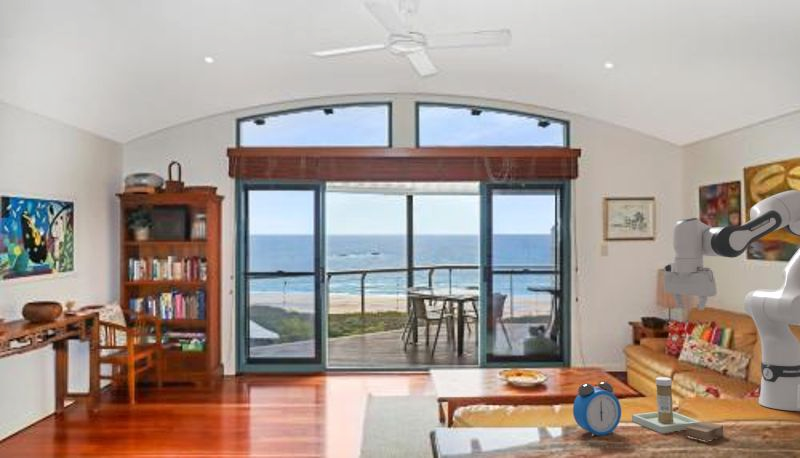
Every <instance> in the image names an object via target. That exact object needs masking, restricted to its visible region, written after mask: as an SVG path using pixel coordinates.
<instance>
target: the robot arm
mask: <svg viewBox="0 0 800 458" xmlns="http://www.w3.org/2000/svg"><path fill="white" fill-rule="evenodd" d="M749 218H750V220H749V221H747V222H745V223H743V224H742V225H727V226H717V227H713V226H711V225H708V224H706V223H704V222H702V221H700V219H699V218H697V217H689V218H684V219H680V220H678V221H676V222H675V223H674V225H673V230H672V246H673V250H674V254H673V261H671V262H670V263H668V264H666V265H664V266H663V271H664V272H665V273H664V277H663V280H664V281H663V284H664V290H665V293H667V294H670V295H671V294H673V299H674V300H675V302H676V307H677V308H679V309H680V308H681V309H682V308H685V302H684V301H682V296H686V295H687V296H694V297H698V300H699V302H698V304H696V308H697V310H698V311H704V310H705V309H706V303H707V301H708V298H711V297H716V295H717V285H716V284H717V283H716V279H715V276H714V271H713V270H712V269H711V268H710V267H704V256H705V257H724V258H737V257H739V256H741V255H742V254H744V253H745V251H747V249H748V248H749V246H750V245H752V244H753V243H754V242H756V241H758V240H760V239H762V238H763V237H765V236H767V235H769V234H770V233H773V232H775V231H777V230H780V229H782V228H784V229H785V231H786V232H787V233H788V234H791V235H792V236H796V237H797V236H798V237H800V191H799V190H797V189H796V190H795V189H792V190H787V191H786V190H785V191H783V192H779V193H776V194H773V195H771V196H768V197H766V198H764V199H761V200H760V201H759V202H757V203H756V204H753V206H752V207H751V208H750V211H749ZM781 275H782V278H783V280H784V281H783V282H782V285H781V287H779V288H778V289H772V288H771V289H770V288H760V289H756V290H755V289H754V290H751V291H749V292H748V293H746V296H744V301H743V306H744V310H745V311H746V312H747V314H748V315H749V316H750V317H751V319H752V320H753V322H754V325H755V327H756V329H757V332H758V336H759V340H760V348H761V349H760V350H761V362H760V371H761V374H762V376H761V378H760V379H761V382H760V395H759V396H758V404H759V405H761V406H763V407H766V408H768V409H769V408H771V409H775V410H780V411H792V412H793V411H795V412H800V341H799V339H798V338H797V336H795V335H794V334H793V332H792V330H791V329H790V326H789V325H800V247H799V248H798V249H797V251H795V253H794V254H793V255H792V257H791V258H790V259H789V261H788V262H787V264H786V265H785V266H784V267H783V269H782V271H781Z"/></svg>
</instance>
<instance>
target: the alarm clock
mask: <svg viewBox="0 0 800 458" xmlns="http://www.w3.org/2000/svg"><path fill="white" fill-rule="evenodd" d="M614 391H615V390H614V387H613V385H612V384H610V383H609V381H607V382H606V381H601V382H599V383H597V384H594V385H592V384H590V383H582V384H580V386H579V387H578V389H577V393H578V394H577V396H576V397H575V399H574V403H573V408H572V413H573V418H574V421H575V422H576V424H577V425H578V426H579V427H580V428H581V429H583V430H585V431H587V432H589V433H590V434H591V435H592V434H594V435H596V436H606V435H609V434H611V435H612V434H613V431H614V430H616V428H617V427H618V425H619V423H620V421H621V418H622V407H621V403H620V401H619V399H618V398H617V397H616V395H615V394H614Z"/></svg>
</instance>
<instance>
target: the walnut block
mask: <svg viewBox="0 0 800 458" xmlns="http://www.w3.org/2000/svg"><path fill="white" fill-rule="evenodd" d="M685 434H686V435H685V436H690V437H693V438H697V439H701V440H705V441H709V440H712V439H716V438H718V439H720V438H719V437H721V438H722V437H724V426H723V425H722V424H721V425H720V424H717V423H711V422H707V421H704V420H703V421H700V422H699V423H697V424H694V425H691V426H688V427H686V431H685ZM716 440H717V439H716Z"/></svg>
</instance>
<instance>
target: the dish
mask: <svg viewBox="0 0 800 458" xmlns="http://www.w3.org/2000/svg"><path fill="white" fill-rule="evenodd" d="M673 420H674V421H673V423H670V424H667V423H661V422H659V421H658V411H651V412H643V413H642V412H641V413H634V414H631V422H633V423H635V424H637V425H640V426H642V427H645V428H648V429H650V430H652V431H655V432H657V433H659V434H669V433H670V432H671V433H674V432H673V431H678V432H681V431H680V430H686V427H688V426H691V425H694V424H697V423H699V422H701V421H700V420H698V419H695V418H691V417H690V416H686V415H683V414H681V413H677V412H675V411H673Z"/></svg>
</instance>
